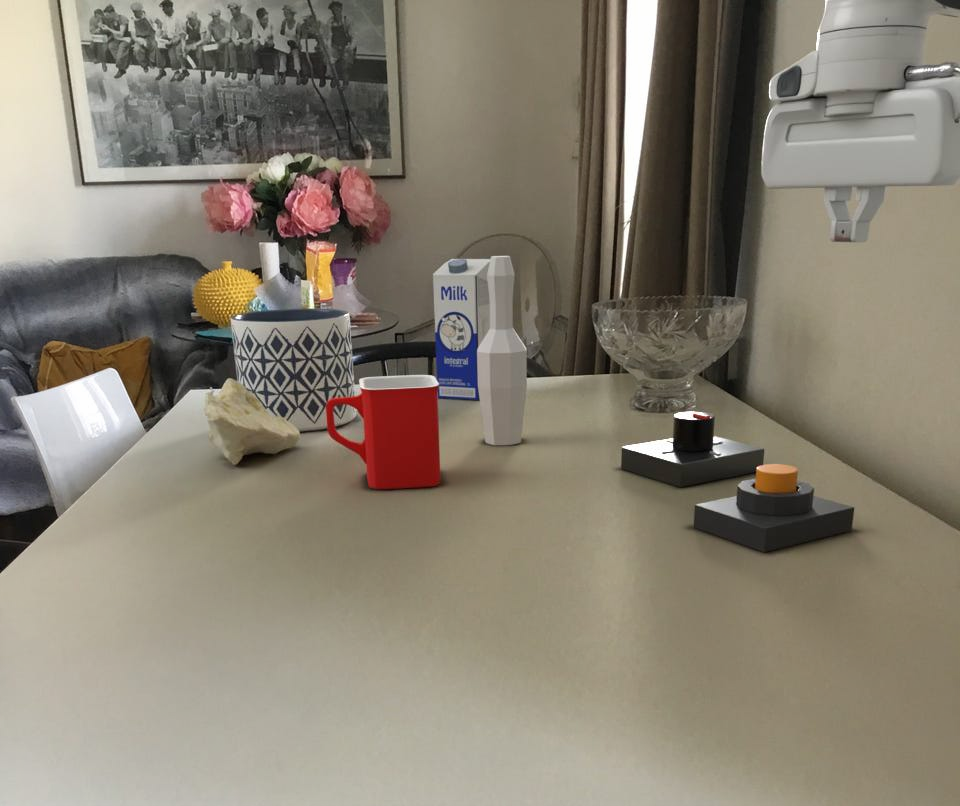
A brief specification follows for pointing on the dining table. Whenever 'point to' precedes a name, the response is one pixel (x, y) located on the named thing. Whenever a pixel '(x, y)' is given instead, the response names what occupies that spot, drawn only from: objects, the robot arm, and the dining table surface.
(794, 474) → the button
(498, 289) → the low poly bottle
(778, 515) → the button base
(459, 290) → the milk carton
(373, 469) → the mug
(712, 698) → the dining table surface
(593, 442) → the dining table surface
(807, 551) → the dining table surface
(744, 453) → the dial panel
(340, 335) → the planter
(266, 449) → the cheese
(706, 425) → the temp dial
